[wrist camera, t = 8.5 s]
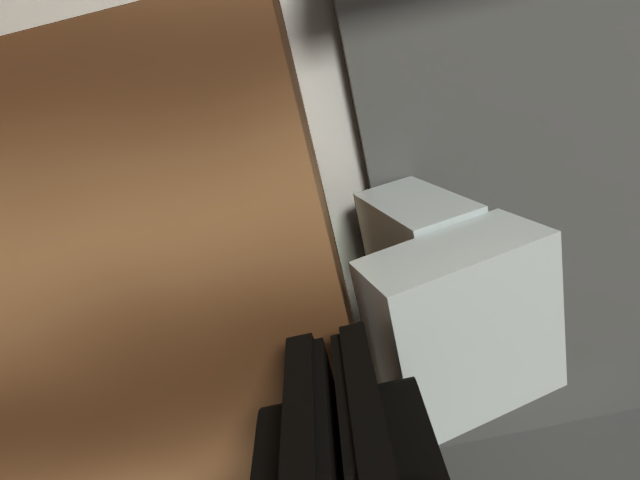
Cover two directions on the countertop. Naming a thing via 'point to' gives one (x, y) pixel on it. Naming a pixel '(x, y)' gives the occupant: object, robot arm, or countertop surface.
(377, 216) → the tile
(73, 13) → the countertop surface
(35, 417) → the board
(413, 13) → the tray
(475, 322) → the tile
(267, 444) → the robot arm
